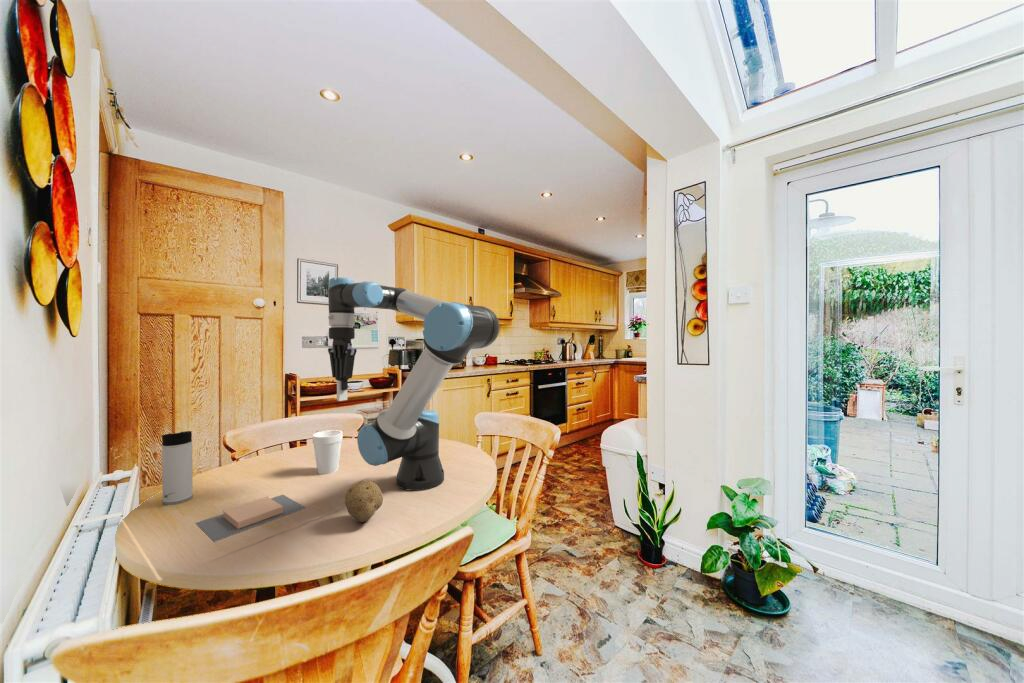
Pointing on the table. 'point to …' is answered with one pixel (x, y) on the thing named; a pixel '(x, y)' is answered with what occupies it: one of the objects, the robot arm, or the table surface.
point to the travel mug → (177, 468)
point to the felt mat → (223, 528)
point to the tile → (252, 512)
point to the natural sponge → (363, 500)
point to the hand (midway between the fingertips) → (342, 400)
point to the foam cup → (327, 450)
